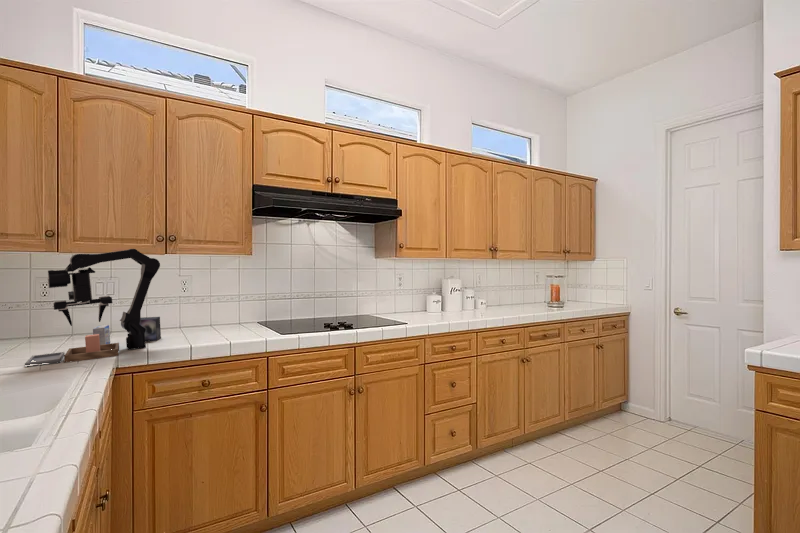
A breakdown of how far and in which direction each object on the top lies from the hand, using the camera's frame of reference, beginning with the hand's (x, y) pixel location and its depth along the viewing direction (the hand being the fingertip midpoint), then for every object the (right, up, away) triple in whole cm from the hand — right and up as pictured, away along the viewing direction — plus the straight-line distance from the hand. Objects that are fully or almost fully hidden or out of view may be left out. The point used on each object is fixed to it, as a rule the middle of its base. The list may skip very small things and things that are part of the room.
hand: (85, 323), depth 172 cm
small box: (+9, -12, +27) cm, 31 cm away
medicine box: (-6, -12, +18) cm, 23 cm away
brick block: (+2, -13, +1) cm, 13 cm away
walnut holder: (+2, -13, +1) cm, 13 cm away
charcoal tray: (-10, -13, -7) cm, 18 cm away
